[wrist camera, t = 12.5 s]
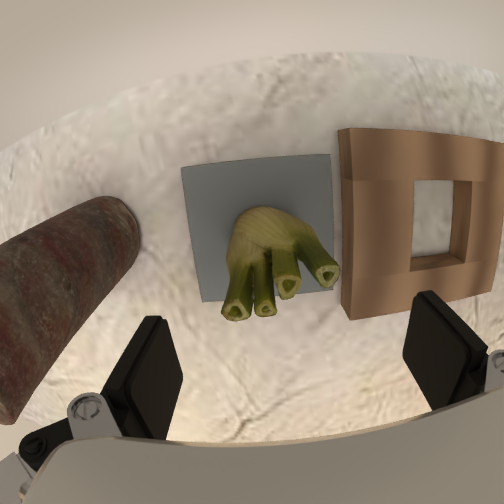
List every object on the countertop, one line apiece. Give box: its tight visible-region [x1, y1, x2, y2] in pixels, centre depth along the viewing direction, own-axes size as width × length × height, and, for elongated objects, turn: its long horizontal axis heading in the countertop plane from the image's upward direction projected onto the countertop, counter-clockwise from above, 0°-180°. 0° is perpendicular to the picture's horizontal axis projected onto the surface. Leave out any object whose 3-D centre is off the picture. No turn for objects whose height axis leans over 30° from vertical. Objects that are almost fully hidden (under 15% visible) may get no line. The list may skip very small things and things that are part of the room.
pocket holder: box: [338, 128, 504, 320], centre depth 23 cm, size 18×16×3 cm
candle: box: [0, 196, 139, 425], centre depth 15 cm, size 8×7×20 cm
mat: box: [181, 154, 334, 302], centre depth 24 cm, size 12×12×1 cm
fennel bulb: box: [221, 206, 340, 322], centre depth 19 cm, size 6×5×12 cm
